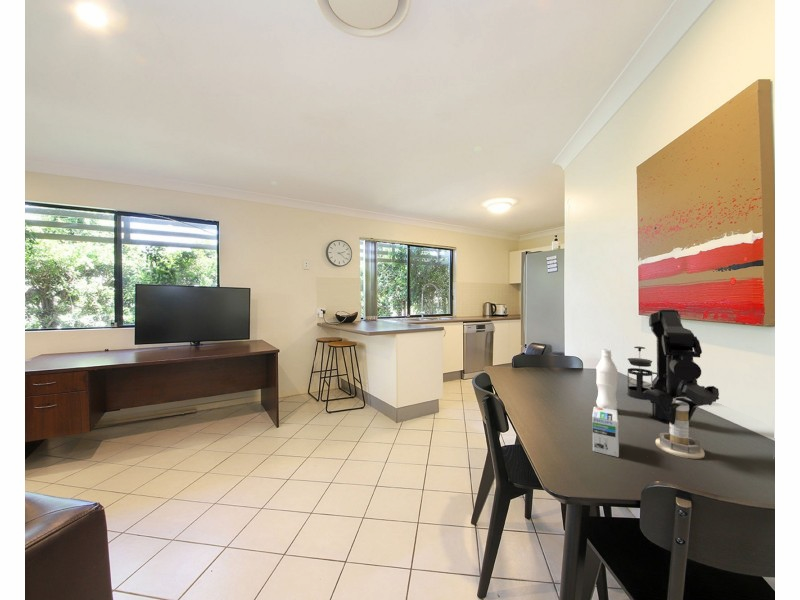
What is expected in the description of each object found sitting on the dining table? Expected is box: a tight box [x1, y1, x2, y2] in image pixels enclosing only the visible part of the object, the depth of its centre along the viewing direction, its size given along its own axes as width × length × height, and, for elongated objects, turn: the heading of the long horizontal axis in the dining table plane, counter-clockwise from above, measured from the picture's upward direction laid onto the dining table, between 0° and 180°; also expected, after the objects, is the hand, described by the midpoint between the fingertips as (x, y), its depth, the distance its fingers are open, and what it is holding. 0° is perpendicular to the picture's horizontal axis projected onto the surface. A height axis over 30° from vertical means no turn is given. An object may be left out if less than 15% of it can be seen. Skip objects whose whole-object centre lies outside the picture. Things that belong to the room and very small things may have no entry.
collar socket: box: [655, 431, 706, 460], centre depth 93 cm, size 11×11×3 cm
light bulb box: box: [591, 406, 620, 458], centre depth 95 cm, size 11×7×11 cm, turn 145°
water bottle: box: [595, 348, 619, 411], centre depth 123 cm, size 7×7×25 cm
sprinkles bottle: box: [669, 401, 690, 445], centre depth 93 cm, size 5×5×14 cm
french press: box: [627, 346, 657, 401], centre depth 139 cm, size 12×9×23 cm
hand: (679, 423), depth 93 cm, fingers closed on sprinkles bottle, 4 cm apart
